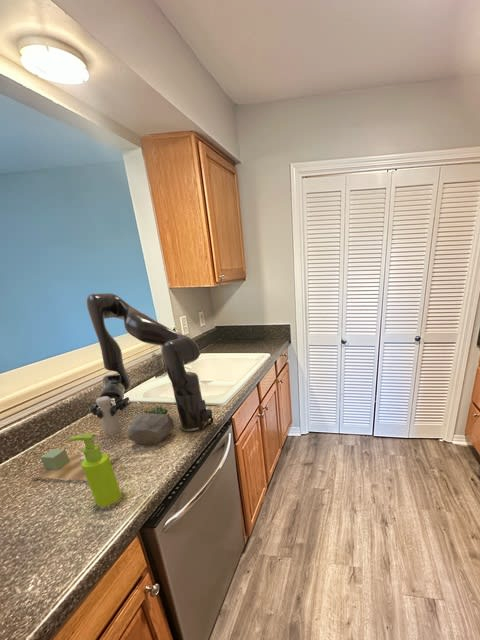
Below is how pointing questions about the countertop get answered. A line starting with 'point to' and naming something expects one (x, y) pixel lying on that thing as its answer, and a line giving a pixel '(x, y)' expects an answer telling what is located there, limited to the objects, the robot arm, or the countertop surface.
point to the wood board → (68, 470)
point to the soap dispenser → (98, 472)
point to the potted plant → (151, 426)
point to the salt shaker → (108, 416)
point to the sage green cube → (55, 459)
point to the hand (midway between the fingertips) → (106, 414)
